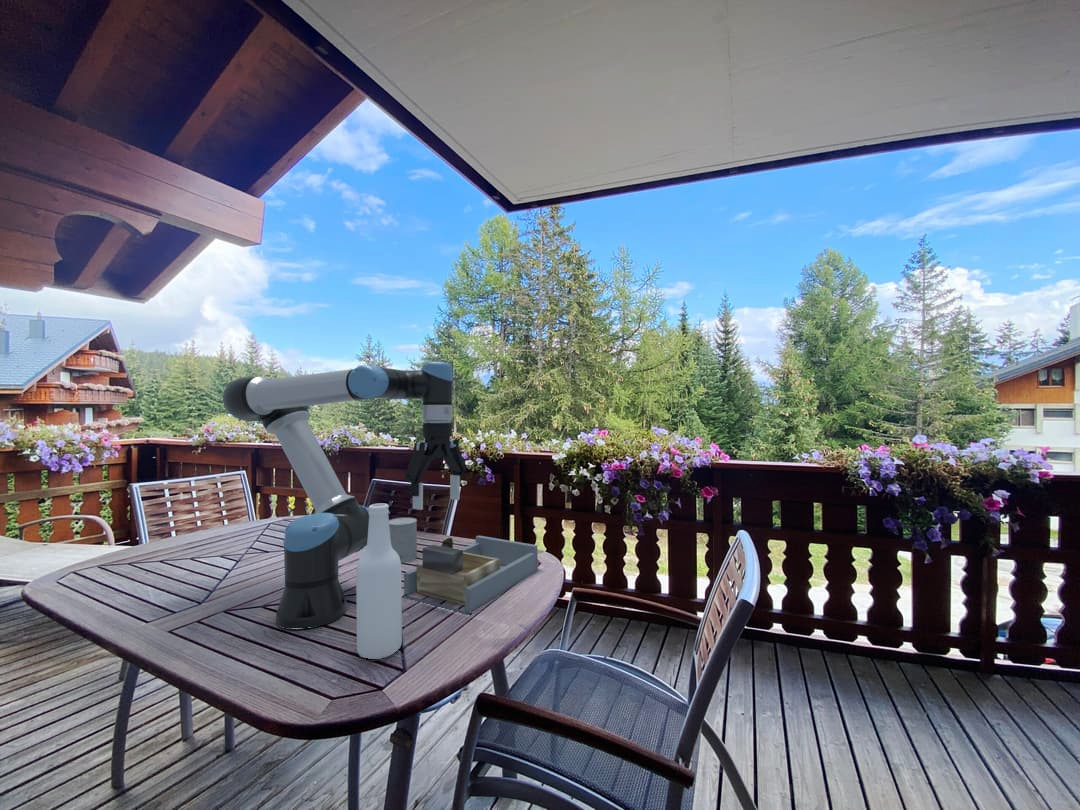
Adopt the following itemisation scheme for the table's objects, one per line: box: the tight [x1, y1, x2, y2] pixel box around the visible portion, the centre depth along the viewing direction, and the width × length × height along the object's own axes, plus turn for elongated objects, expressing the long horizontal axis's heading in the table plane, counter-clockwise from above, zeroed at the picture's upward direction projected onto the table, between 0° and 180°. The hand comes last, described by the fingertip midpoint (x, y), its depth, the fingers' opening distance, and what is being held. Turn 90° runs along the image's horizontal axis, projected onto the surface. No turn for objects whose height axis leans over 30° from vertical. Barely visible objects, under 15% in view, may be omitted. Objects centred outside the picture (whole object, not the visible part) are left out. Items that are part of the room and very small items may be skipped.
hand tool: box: [440, 537, 454, 548], centre depth 153 cm, size 19×4×5 cm, turn 165°
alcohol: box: [355, 502, 403, 659], centre depth 95 cm, size 9×9×30 cm
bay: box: [403, 535, 539, 617], centre depth 129 cm, size 32×22×8 cm
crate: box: [416, 544, 501, 606], centre depth 122 cm, size 15×17×12 cm
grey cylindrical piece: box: [389, 517, 418, 563], centre depth 153 cm, size 10×10×12 cm
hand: (437, 504), depth 118 cm, fingers open, 13 cm apart
